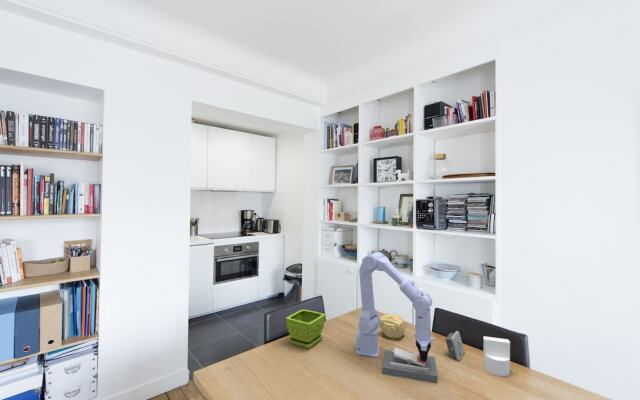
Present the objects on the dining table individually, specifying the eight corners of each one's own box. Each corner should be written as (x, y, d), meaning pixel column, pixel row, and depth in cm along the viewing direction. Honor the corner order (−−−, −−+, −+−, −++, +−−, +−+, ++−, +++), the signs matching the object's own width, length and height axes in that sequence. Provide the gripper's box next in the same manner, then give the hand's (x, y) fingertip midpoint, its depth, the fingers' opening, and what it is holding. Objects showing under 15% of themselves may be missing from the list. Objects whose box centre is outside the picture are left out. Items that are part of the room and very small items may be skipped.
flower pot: (326, 340, 143) (326, 313, 142) (309, 353, 131) (309, 324, 131) (302, 333, 150) (302, 308, 150) (284, 344, 138) (284, 317, 138)
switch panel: (382, 373, 115) (382, 361, 115) (385, 355, 128) (385, 344, 128) (437, 383, 109) (437, 370, 109) (434, 362, 123) (434, 351, 123)
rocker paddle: (393, 355, 118) (394, 353, 118) (394, 349, 123) (394, 346, 123) (424, 367, 115) (425, 364, 115) (424, 360, 120) (424, 357, 119)
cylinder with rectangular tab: (506, 365, 120) (506, 336, 120) (512, 378, 112) (512, 346, 112) (481, 361, 123) (481, 333, 123) (485, 373, 115) (485, 343, 115)
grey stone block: (459, 362, 123) (457, 339, 124) (446, 359, 126) (444, 336, 127) (465, 352, 131) (462, 331, 131) (452, 350, 134) (450, 329, 134)
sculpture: (377, 337, 145) (377, 315, 145) (386, 328, 155) (386, 307, 155) (400, 343, 139) (400, 320, 139) (408, 334, 149) (408, 312, 149)
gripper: (435, 335, 109) (435, 372, 109) (432, 319, 123) (433, 352, 123) (415, 332, 111) (415, 369, 111) (414, 318, 125) (415, 350, 125)
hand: (423, 360), depth 117 cm, fingers closed, pressing on rocker paddle
